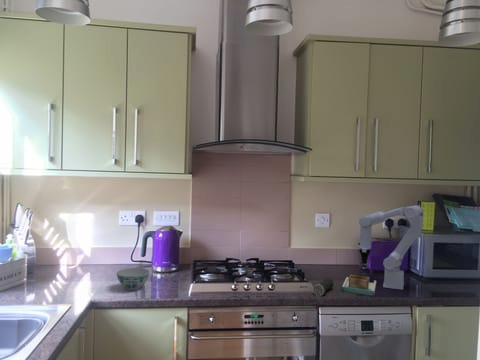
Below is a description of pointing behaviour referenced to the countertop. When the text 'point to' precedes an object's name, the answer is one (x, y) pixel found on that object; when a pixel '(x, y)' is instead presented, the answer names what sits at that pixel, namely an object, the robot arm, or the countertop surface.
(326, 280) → the flashlight
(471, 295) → the countertop surface
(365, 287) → the crate
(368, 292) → the tray
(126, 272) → the chinaware
